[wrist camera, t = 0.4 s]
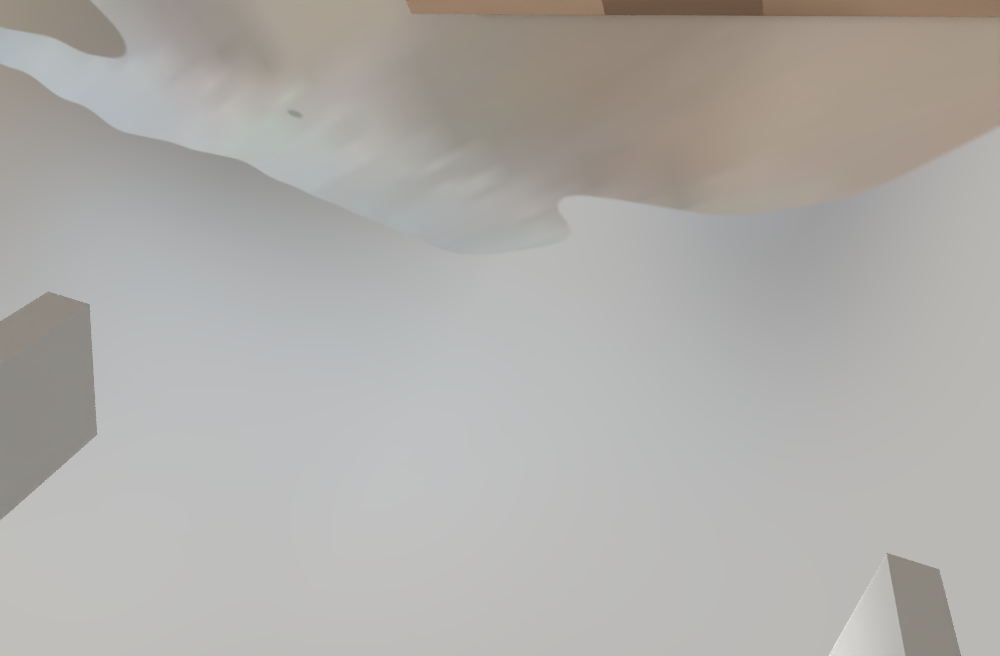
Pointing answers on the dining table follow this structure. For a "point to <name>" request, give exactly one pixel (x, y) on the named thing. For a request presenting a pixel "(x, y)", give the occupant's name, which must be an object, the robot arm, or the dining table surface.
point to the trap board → (714, 7)
